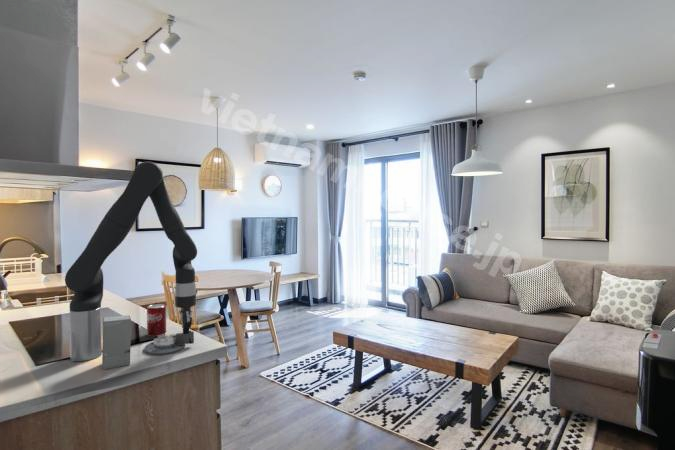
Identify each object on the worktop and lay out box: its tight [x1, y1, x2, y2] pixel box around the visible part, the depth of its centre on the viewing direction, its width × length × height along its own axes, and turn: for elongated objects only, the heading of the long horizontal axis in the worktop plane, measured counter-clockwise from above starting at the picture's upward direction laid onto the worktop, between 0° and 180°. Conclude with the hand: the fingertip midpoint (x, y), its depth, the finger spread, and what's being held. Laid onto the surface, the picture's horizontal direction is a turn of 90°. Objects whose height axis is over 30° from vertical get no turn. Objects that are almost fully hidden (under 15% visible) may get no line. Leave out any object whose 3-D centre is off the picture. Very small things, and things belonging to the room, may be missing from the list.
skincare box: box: [101, 315, 132, 370], centre depth 128 cm, size 8×7×16 cm
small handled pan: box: [153, 330, 195, 349], centre depth 143 cm, size 14×8×5 cm, turn 96°
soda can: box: [146, 303, 167, 338], centre depth 158 cm, size 7×7×12 cm
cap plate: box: [144, 341, 186, 356], centre depth 143 cm, size 14×14×1 cm
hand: (186, 337), depth 147 cm, fingers closed
